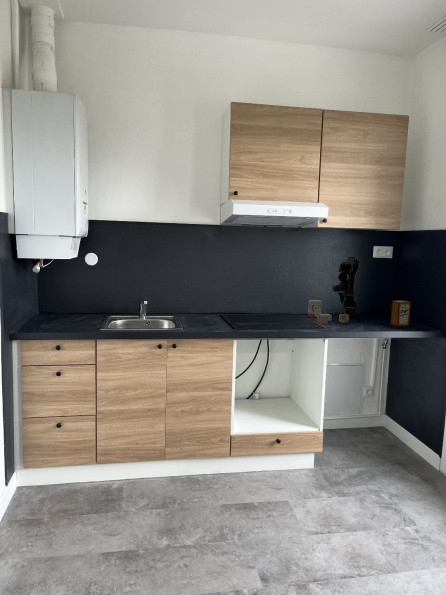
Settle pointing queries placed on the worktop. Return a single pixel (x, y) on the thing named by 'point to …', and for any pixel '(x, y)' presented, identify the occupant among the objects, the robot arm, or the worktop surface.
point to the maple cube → (344, 318)
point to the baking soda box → (400, 313)
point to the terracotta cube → (322, 318)
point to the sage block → (328, 316)
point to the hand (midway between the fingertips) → (344, 304)
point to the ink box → (314, 308)
